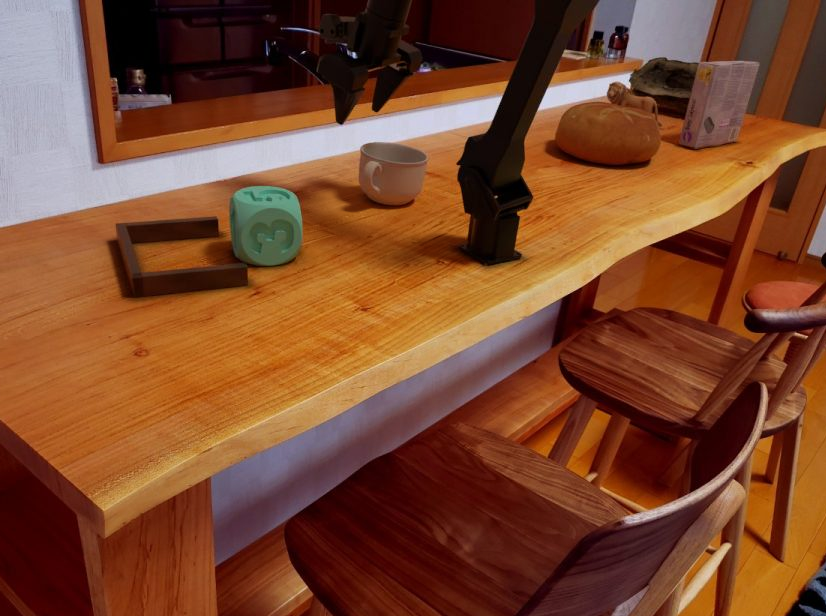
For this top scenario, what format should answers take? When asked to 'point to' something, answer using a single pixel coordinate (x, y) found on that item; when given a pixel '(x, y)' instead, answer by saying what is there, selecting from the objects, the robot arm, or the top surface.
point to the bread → (608, 133)
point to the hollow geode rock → (665, 82)
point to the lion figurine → (630, 99)
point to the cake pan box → (718, 103)
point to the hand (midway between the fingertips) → (357, 117)
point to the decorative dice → (265, 225)
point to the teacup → (391, 172)
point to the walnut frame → (179, 277)
